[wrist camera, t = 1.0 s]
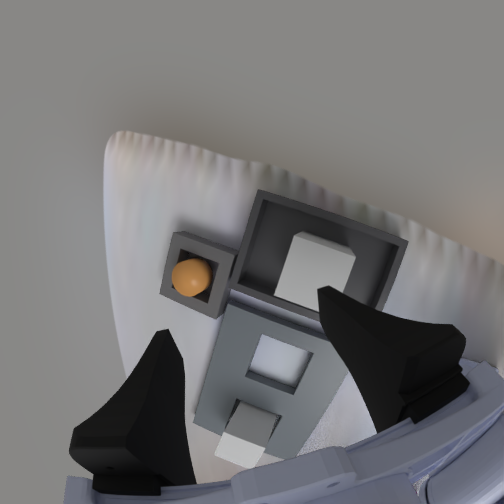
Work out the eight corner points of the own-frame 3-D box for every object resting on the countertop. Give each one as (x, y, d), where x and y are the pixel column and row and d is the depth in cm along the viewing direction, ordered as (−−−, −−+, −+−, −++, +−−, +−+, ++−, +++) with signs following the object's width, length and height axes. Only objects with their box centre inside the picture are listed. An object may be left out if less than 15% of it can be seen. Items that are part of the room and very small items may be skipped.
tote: (400, 238, 22) (408, 241, 19) (366, 327, 23) (369, 338, 21) (265, 191, 24) (258, 189, 22) (237, 280, 26) (228, 287, 23)
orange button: (216, 264, 25) (207, 268, 23) (208, 295, 25) (198, 301, 23) (187, 253, 25) (175, 255, 23) (179, 283, 26) (168, 288, 24)
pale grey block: (349, 247, 22) (355, 257, 17) (332, 292, 23) (332, 316, 17) (302, 230, 23) (294, 235, 17) (287, 276, 24) (273, 295, 18)
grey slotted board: (357, 345, 24) (358, 351, 22) (293, 454, 27) (291, 461, 26) (232, 299, 26) (227, 303, 25) (197, 416, 29) (192, 422, 28)
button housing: (242, 252, 25) (234, 255, 23) (224, 312, 26) (216, 319, 25) (184, 231, 27) (173, 232, 25) (170, 288, 28) (159, 293, 26)
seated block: (278, 410, 26) (265, 448, 21) (266, 433, 27) (252, 470, 21) (243, 396, 27) (223, 431, 22) (233, 420, 28) (214, 454, 22)
